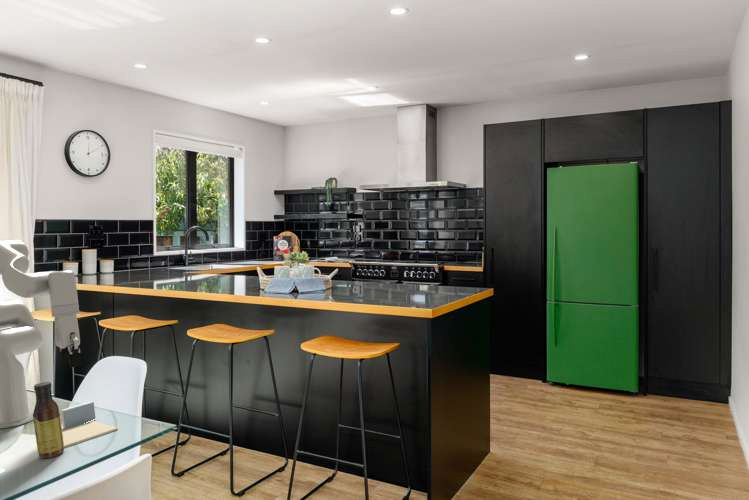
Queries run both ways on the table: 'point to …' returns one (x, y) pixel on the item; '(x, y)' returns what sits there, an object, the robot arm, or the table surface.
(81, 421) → the tile
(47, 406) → the sauce bottle
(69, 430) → the mat
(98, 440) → the table surface
